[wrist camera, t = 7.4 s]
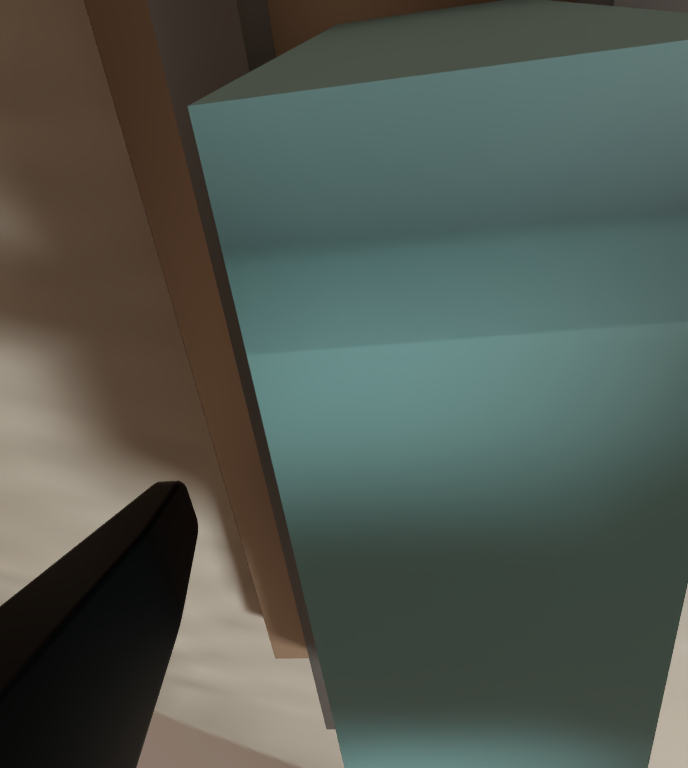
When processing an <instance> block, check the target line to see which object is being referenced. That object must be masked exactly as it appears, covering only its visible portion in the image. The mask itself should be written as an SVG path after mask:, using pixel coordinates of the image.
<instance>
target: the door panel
mask: <svg viewBox="0 0 688 768" xmlns="http://www.w3.org/2000/svg"><path fill="white" fill-rule="evenodd" d="M188 110H189V114H190V119H191V123H192V127H193V131H194V136H195V140H196V144H197V148H198V152H199V157H200V161H201V165H202V169H203V173H204V178H205V182H206V186H207V190H208V194H209V199H210V203H211V207H212V211H213V216H214V220H215V224H216V228H217V232H218V237H219V241H220V245H221V249H222V253H223V258H224V262H225V266H226V270H227V274H228V279H229V283H230V287H231V291H232V296H233V300H234V304H235V308H236V312H237V317H238V321H239V325H240V329H241V333H242V338H243V342H244V346H245V350H246V354H247V359H248V363H249V367H250V371H251V375H252V380H253V384H254V388H255V392H256V397H257V401H258V405H259V409H260V413H261V418H262V422H263V426H264V430H265V434H266V439H267V443H268V447H269V451H270V455H271V460H272V464H273V468H274V472H275V477H276V481H277V485H278V489H279V493H280V498H281V502H282V506H283V510H284V514H285V519H286V523H287V527H288V531H289V535H290V540H291V544H292V548H293V552H294V557H295V561H296V565H297V569H298V573H299V578H300V582H301V586H302V590H303V594H304V599H305V603H306V607H307V611H308V615H309V620H310V624H311V628H312V632H313V637H314V641H315V645H316V649H317V653H318V658H319V662H320V666H321V670H322V674H323V679H324V683H325V687H326V691H327V695H328V700H329V704H330V708H331V712H332V717H333V721H334V725H335V729H336V733H337V738H338V742H339V746H340V750H341V754H342V759H343V763H344V767H345V768H648V764H649V759H650V754H651V750H652V745H653V741H654V736H655V731H656V727H657V722H658V718H659V713H660V708H661V704H662V699H663V694H664V690H665V685H666V681H667V676H668V671H669V667H670V662H671V658H672V653H673V648H674V644H675V639H676V635H677V630H678V625H679V621H680V616H681V611H682V607H683V602H684V598H685V593H686V588H687V584H688V13H683V12H672V11H661V10H650V9H639V8H628V7H617V6H606V5H595V4H584V3H573V2H562V1H551V0H500V1H493V2H487V3H480V4H473V5H466V6H459V7H452V8H445V9H438V10H432V11H425V12H418V13H411V14H404V15H397V16H390V17H384V18H377V19H370V20H363V21H356V22H349V23H342V24H337V25H335V26H333V27H331V28H329V29H328V30H326V31H324V32H322V33H320V34H318V35H317V36H315V37H313V38H311V39H309V40H307V41H306V42H304V43H302V44H300V45H298V46H296V47H295V48H293V49H291V50H289V51H287V52H285V53H284V54H282V55H280V56H278V57H276V58H275V59H273V60H271V61H269V62H267V63H265V64H264V65H262V66H260V67H258V68H256V69H254V70H253V71H251V72H249V73H247V74H245V75H243V76H242V77H240V78H238V79H236V80H234V81H232V82H231V83H229V84H227V85H225V86H223V87H221V88H220V89H218V90H216V91H214V92H212V93H210V94H209V95H207V96H205V97H203V98H201V99H200V100H198V101H196V102H194V103H192V104H190V105H189V106H188Z"/></svg>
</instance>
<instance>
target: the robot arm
mask: <svg viewBox="0 0 688 768" xmlns="http://www.w3.org/2000/svg"><path fill="white" fill-rule="evenodd" d="M197 535H198V522H197V517H196V514H195V511H194V508H193V505H192V502H191V499H190V496H189V493H188V490H187V488H186V486H185V484H184V483H183V482H181V481H165V482H157V483H155V484H154V485H152V486H151V487H150V488H149V489H147V490H146V491H145V492H143V493H142V494H141V495H140V496H138V497H137V498H136V499H135V500H133V501H132V502H131V503H130V504H128V505H127V506H126V507H125V508H123V509H122V510H121V511H120V512H118V513H117V514H116V515H115V516H113V517H112V518H111V519H110V520H108V521H107V522H106V523H105V524H103V525H102V526H101V527H99V528H98V529H97V530H96V531H94V532H93V533H92V534H91V535H89V536H88V537H87V538H86V539H84V540H83V541H82V542H81V543H79V544H78V545H77V546H76V547H74V548H73V549H72V550H71V551H69V552H68V553H67V554H66V555H64V556H63V557H62V558H60V559H59V560H58V561H57V562H55V563H54V564H53V565H52V566H50V567H49V568H48V569H47V570H45V571H44V572H43V573H42V574H40V575H39V576H38V577H37V578H35V579H34V580H33V581H32V582H30V583H29V584H28V585H27V586H25V587H24V588H23V589H21V590H20V591H19V592H18V593H16V594H15V595H14V596H13V597H11V598H10V599H9V600H8V601H6V602H5V603H4V604H3V605H1V606H0V768H136V767H137V764H138V760H139V757H140V754H141V751H142V747H143V744H144V741H145V738H146V734H147V731H148V728H149V725H150V721H151V718H152V715H153V712H154V709H155V705H156V702H157V699H158V696H159V692H160V689H161V686H162V683H163V679H164V676H165V673H166V670H167V667H168V663H169V660H170V657H171V654H172V650H173V647H174V644H175V641H176V637H177V634H178V630H179V627H180V623H181V619H182V614H183V609H184V604H185V599H186V594H187V588H188V583H189V578H190V573H191V567H192V562H193V557H194V551H195V546H196V541H197Z"/></svg>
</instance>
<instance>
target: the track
mask: <svg viewBox="0 0 688 768" xmlns="http://www.w3.org/2000/svg"><path fill="white" fill-rule="evenodd" d="M493 1H500V0H84V2H85V5H86V9H87V12H88V15H89V19H90V22H91V26H92V29H93V33H94V36H95V39H96V43H97V46H98V50H99V53H100V57H101V60H102V64H103V67H104V70H105V74H106V77H107V81H108V84H109V88H110V91H111V95H112V98H113V101H114V105H115V108H116V112H117V115H118V119H119V122H120V125H121V129H122V132H123V136H124V139H125V143H126V146H127V150H128V153H129V156H130V160H131V163H132V167H133V170H134V174H135V177H136V181H137V184H138V187H139V191H140V194H141V198H142V201H143V205H144V208H145V211H146V215H147V218H148V222H149V225H150V229H151V232H152V236H153V239H154V242H155V246H156V249H157V253H158V256H159V260H160V263H161V267H162V270H163V273H164V277H165V280H166V284H167V287H168V291H169V294H170V297H171V301H172V304H173V308H174V311H175V315H176V318H177V322H178V325H179V328H180V332H181V335H182V339H183V342H184V346H185V349H186V353H187V356H188V359H189V363H190V366H191V370H192V373H193V377H194V380H195V383H196V387H197V390H198V394H199V397H200V401H201V404H202V408H203V411H204V414H205V418H206V421H207V425H208V428H209V432H210V435H211V439H212V442H213V445H214V449H215V452H216V456H217V459H218V463H219V466H220V469H221V473H222V476H223V480H224V483H225V487H226V490H227V494H228V497H229V500H230V504H231V507H232V511H233V514H234V518H235V521H236V524H237V528H238V531H239V535H240V538H241V542H242V545H243V549H244V552H245V555H246V559H247V562H248V566H249V569H250V573H251V576H252V580H253V583H254V586H255V590H256V593H257V597H258V600H259V604H260V607H261V610H262V614H263V617H264V621H265V624H266V628H267V631H268V635H269V638H270V641H271V645H272V648H273V652H274V655H275V658H309V660H310V664H311V668H312V672H313V676H314V680H315V684H316V688H317V692H318V696H319V700H320V704H321V708H322V712H323V716H324V720H325V724H326V729H335V725H334V721H333V717H332V712H331V708H330V704H329V700H328V695H327V691H326V687H325V683H324V679H323V674H322V670H321V666H320V662H319V658H318V653H317V649H316V645H315V641H314V637H313V632H312V628H311V624H310V620H309V615H308V611H307V607H306V603H305V599H304V594H303V590H302V586H301V582H300V578H299V573H298V569H297V565H296V561H295V557H294V552H293V548H292V544H291V540H290V535H289V531H288V527H287V523H286V519H285V514H284V510H283V506H282V502H281V498H280V493H279V489H278V485H277V481H276V477H275V472H274V468H273V464H272V460H271V455H270V451H269V447H268V443H267V439H266V434H265V430H264V426H263V422H262V418H261V413H260V409H259V405H258V401H257V397H256V392H255V388H254V384H253V380H252V375H251V371H250V367H249V363H248V359H247V354H246V350H245V346H244V342H243V338H242V333H241V329H240V325H239V321H238V317H237V312H236V308H235V304H234V300H233V296H232V291H231V287H230V283H229V279H228V274H227V270H226V266H225V262H224V258H223V253H222V249H221V245H220V241H219V237H218V232H217V228H216V224H215V220H214V216H213V211H212V207H211V203H210V199H209V194H208V190H207V186H206V182H205V178H204V173H203V169H202V165H201V161H200V157H199V152H198V148H197V144H196V140H195V136H194V131H193V127H192V123H191V119H190V114H189V110H188V106H189V105H190V104H192V103H194V102H196V101H198V100H200V99H201V98H203V97H205V96H207V95H209V94H210V93H212V92H214V91H216V90H218V89H220V88H221V87H223V86H225V85H227V84H229V83H231V82H232V81H234V80H236V79H238V78H240V77H242V76H243V75H245V74H247V73H249V72H251V71H253V70H254V69H256V68H258V67H260V66H262V65H264V64H265V63H267V62H269V61H271V60H273V59H275V58H276V57H278V56H280V55H282V54H284V53H285V52H287V51H289V50H291V49H293V48H295V47H296V46H298V45H300V44H302V43H304V42H306V41H307V40H309V39H311V38H313V37H315V36H317V35H318V34H320V33H322V32H324V31H326V30H328V29H329V28H331V27H333V26H335V25H337V24H342V23H349V22H356V21H363V20H370V19H377V18H384V17H390V16H397V15H404V14H411V13H418V12H425V11H432V10H438V9H445V8H452V7H459V6H466V5H473V4H480V3H487V2H493ZM551 1H562V2H573V3H584V4H595V5H606V6H617V7H628V8H639V9H650V10H661V11H672V12H683V13H688V0H551Z"/></svg>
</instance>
